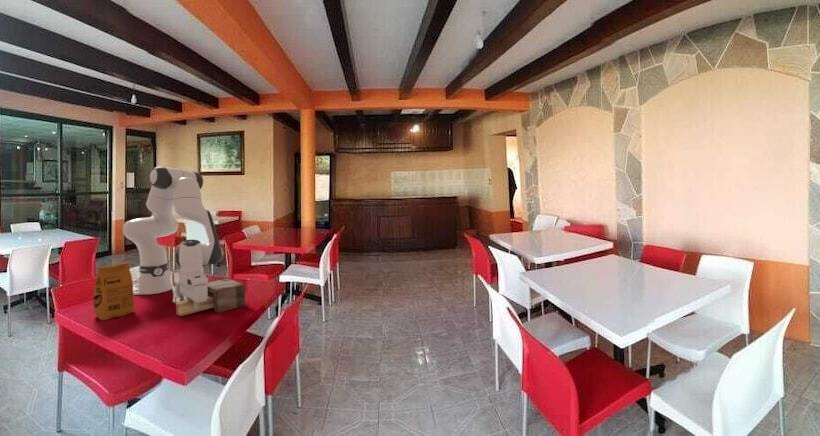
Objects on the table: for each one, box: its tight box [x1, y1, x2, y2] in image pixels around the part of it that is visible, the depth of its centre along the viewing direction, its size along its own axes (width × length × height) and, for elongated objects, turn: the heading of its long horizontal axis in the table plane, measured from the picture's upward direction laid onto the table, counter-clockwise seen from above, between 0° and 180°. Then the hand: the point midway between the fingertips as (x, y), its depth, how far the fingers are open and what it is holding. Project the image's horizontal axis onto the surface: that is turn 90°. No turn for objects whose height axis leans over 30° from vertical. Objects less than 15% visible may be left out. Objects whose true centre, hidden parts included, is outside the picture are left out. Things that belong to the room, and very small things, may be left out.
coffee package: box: [93, 262, 135, 321], centre depth 146 cm, size 10×12×22 cm
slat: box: [175, 294, 214, 317], centre depth 153 cm, size 4×18×5 cm, turn 144°
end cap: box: [206, 278, 246, 314], centre depth 161 cm, size 16×12×10 cm
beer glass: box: [170, 269, 187, 304], centre depth 164 cm, size 7×7×15 cm
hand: (193, 307), depth 151 cm, fingers closed on slat, 4 cm apart
